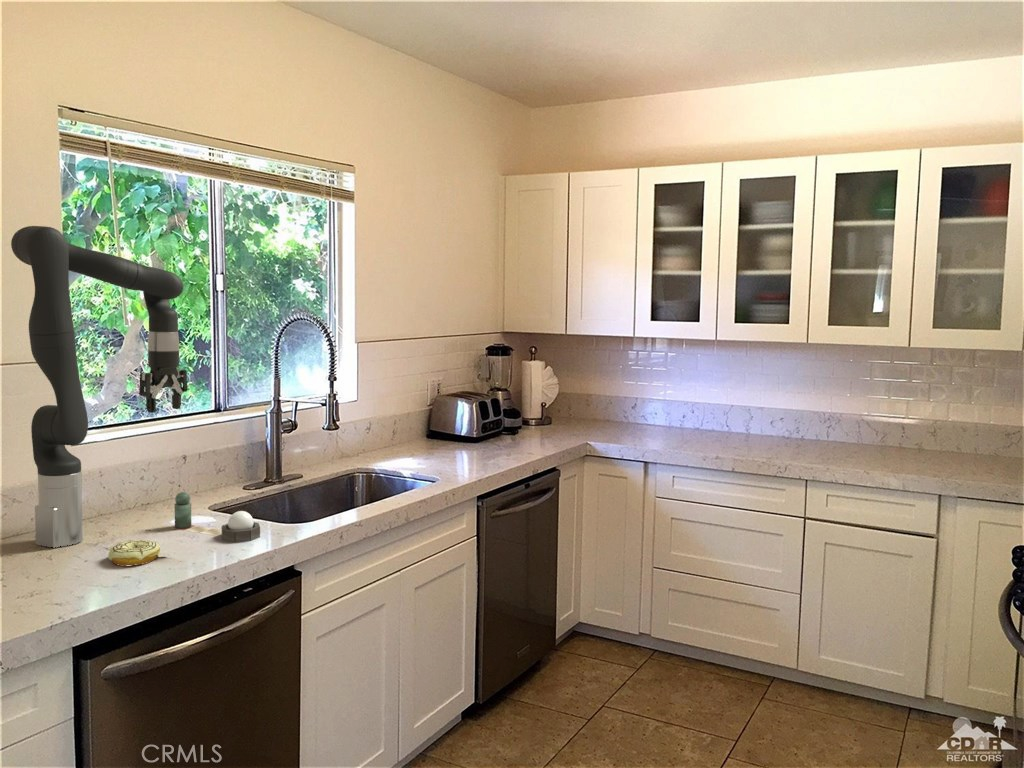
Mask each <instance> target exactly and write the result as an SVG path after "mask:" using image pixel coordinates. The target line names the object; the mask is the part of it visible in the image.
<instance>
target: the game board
mask: <svg viewBox="0 0 1024 768" xmlns="http://www.w3.org/2000/svg"><path fill="white" fill-rule="evenodd" d="M191 525H192V526H191V527H190V528H186V529H176V528H175V525H174V526H172V527H170V529H173V530H179V531H185V532H192V533H197V534H203V535H208V536H217V535H219V534H221V539H222V541H225V542H229V543H247V542H251V541H254V540H256V539H257V540H258V539H260V538H261V526H260V524H259V522H254V521H253V527H252V528H251V529H249V530H238V531H236V530H230V529H229V527H228V523H225V524H223V525H221V529H218V528H210V527H205V526H198V525H193V524H191Z"/></svg>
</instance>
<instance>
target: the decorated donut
mask: <svg viewBox="0 0 1024 768" xmlns="http://www.w3.org/2000/svg"><path fill="white" fill-rule="evenodd" d="M160 552H161V546H160V544H158V543H157V542H155V541H153V540H148V539H137V540H136V539H133V540H132V539H130V540H126V541H122V542H118V543H116V544H114V545H113V546H112V547H111V548H110V550H109V552H108V554H107V555H108V557H107V558H108V560H109V561H112V563H114V564H115V565H116V564H119V565H118V566H120V565H135V564H142V563H146V562H148V563H150V562H149V561H151V562H153V561H154V560H156V559H157V558H158V556H159V554H160ZM152 560H153V561H152ZM142 565H143V564H142Z"/></svg>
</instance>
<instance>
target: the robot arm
mask: <svg viewBox="0 0 1024 768" xmlns="http://www.w3.org/2000/svg"><path fill="white" fill-rule="evenodd" d="M10 242H11V243H10V245H11V250H12V253H13V255H14V256H15V257H16V258H17V259H18V260H19V261H20V262H22V263H24V264H26V265H28V266H31V270H32V275H33V276H32V277H33V281H34V297H33V302H32V306H31V309H30V314H29V319H28V333H29V334H28V335H29V344H30V350H31V354H32V356H33V358H34V360H35V362H36V364H37V365H38V368H40V370H41V372H42V373H43V375H45V377H46V378H47V380H48V381H49V383H50V386H51V387H52V390H53V393H54V396H55V401H56V404H55V405H53V404H46V405H42V406H40V407H39V408H38V409H36V411H35V413H34V414H33V415H32V420H31V425H30V427H31V430H30V431H31V444H32V453H33V455H32V456H33V462H34V465H36V469H37V492H38V493H37V498H38V501H37V502H38V503H37V505H35V506H34V527H35V533H34V534H35V545H36V544H37V545H36V546H41V545H42V546H41V547H46V546H47V548H51V547H53V548H52V549H56V548H60V546H61V547H67V545H68V546H73V545H76V544H79V543H80V541H81V542H82V541H83V539H84V537H83V535H84V534H83V489H82V488H83V487H82V486H83V485H82V480H83V479H82V462H81V459H79V458H78V457H77V456H75V455H74V454H72V453H71V452H69V451H68V449H67V448H66V446H77V445H78V446H79V445H80V444H81V443H83V442H84V441H85V440H86V437H87V435H88V430H89V417H88V412H87V408H86V403H85V398H84V395H83V390H82V384H81V379H80V373H79V372H80V371H79V366H78V359H77V358H78V357H77V347H76V345H77V344H76V336H75V333H76V332H75V327H74V321H73V312H72V303H71V296H70V295H71V294H70V286H69V285H70V283H69V281H70V280H69V276H70V272H72V273H77V274H80V275H83V276H85V277H88V278H91V279H95V280H98V281H101V282H104V283H107V284H110V285H112V286H116V287H119V288H120V287H121V288H123V289H126V290H130V291H131V290H132V291H138V292H139V291H140V292H142V294H143V298H144V303H145V307H146V310H147V313H148V337H147V365H148V367H149V368H150V371H149V372H140V374H139V387H138V389H139V390H138V391H139V392H138V394H139V396H141V397H144V398H145V399H146V400H145V401H146V403H145V404H146V411H147V412H148V413H151V414H152V413H156V412H157V398H156V396H157V394H158V393H159V392H161V390H162V389H165V388H168V389H169V390H170V392H171V393H172V394H171V407H172V408H171V409H174V410H180V409H181V407H182V395H183V393H184V392H185V393H186V392H188V372H187V370H186V369H180V368H179V366H180V338H179V337H180V336H179V318H178V317H179V316H178V312H177V311H176V310H175V309H173V308H172V307H171V303H170V300H174V299H177V298H178V297H179V296H181V294H182V293H183V291H184V282H183V280H182V279H181V277H180V276H179V275H178V274H176V273H174V272H172V271H169V270H166V269H162V268H157V267H152V266H149V265H148V266H147V265H144V264H141V263H139V262H137V261H133V260H130V259H128V258H124V257H121V256H118V255H115V254H110V253H105V252H101V251H97V250H93V249H89V248H86V247H81V246H77V245H75V244H71V243H70V242H68V241H67V239H66V237H65V235H63V233H62V232H61V231H59V229H56V228H54V227H52V226H46V225H44V226H43V225H42V226H41V225H28V226H25V227H22V228H20V229H18V230H16V232H14V234H13V236H12V238H11V240H10ZM69 271H70V272H69ZM78 542H79V543H78ZM72 544H73V545H72ZM55 547H56V548H55Z"/></svg>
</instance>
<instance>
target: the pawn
mask: <svg viewBox="0 0 1024 768" xmlns="http://www.w3.org/2000/svg"><path fill="white" fill-rule="evenodd" d="M174 500H175V503H174V526H175V528H176V529H175V530H178V529H186V528H189V529H191V528H190V527H191V526H192V525H193V524H192V502H191V496H190V494H189V493H188V492H185V491H183V492H182V491H181V492H179V493H177V495H176V496H175V498H174ZM186 530H187V529H186Z"/></svg>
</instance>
